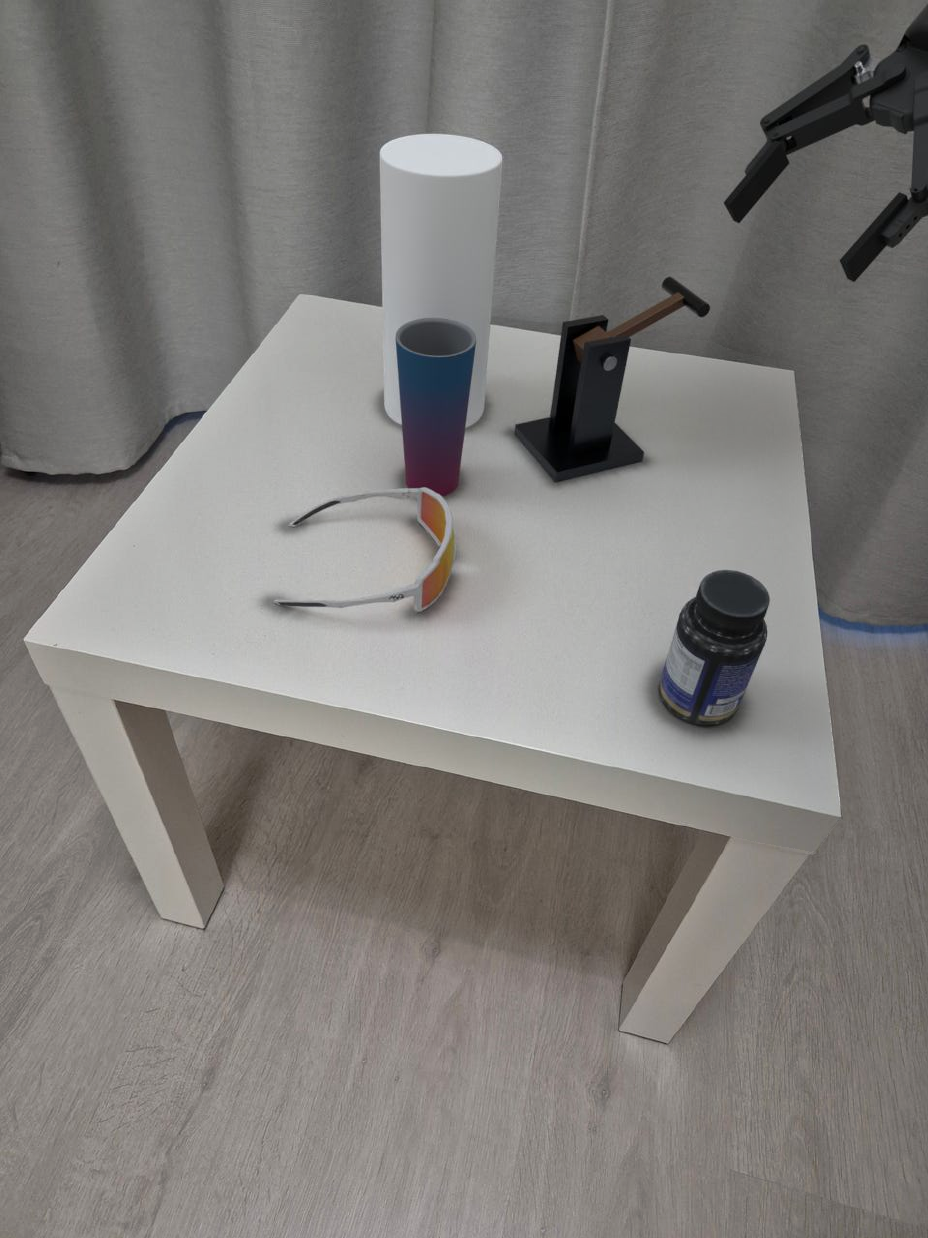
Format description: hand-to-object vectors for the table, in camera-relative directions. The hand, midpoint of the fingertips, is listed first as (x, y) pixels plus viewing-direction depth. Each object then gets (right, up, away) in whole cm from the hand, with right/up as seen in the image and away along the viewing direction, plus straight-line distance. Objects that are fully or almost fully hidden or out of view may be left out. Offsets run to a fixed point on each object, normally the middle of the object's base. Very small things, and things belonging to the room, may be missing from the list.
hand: (785, 241), depth 76 cm
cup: (-31, -20, +8) cm, 38 cm away
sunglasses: (-36, -28, 0) cm, 46 cm away
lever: (-11, -6, +7) cm, 15 cm away
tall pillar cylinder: (-31, -10, +18) cm, 37 cm away
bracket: (-16, -15, +14) cm, 26 cm away
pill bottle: (-10, -39, -9) cm, 41 cm away
